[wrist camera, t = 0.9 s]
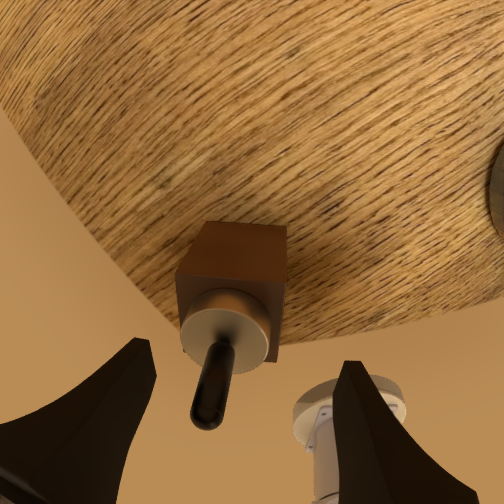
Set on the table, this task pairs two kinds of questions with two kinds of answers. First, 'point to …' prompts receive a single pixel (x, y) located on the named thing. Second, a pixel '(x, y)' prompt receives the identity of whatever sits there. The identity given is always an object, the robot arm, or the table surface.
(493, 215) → the bowl
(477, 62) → the table surface
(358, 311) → the table surface
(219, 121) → the table surface
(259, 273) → the brown block
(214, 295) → the disc with handle
